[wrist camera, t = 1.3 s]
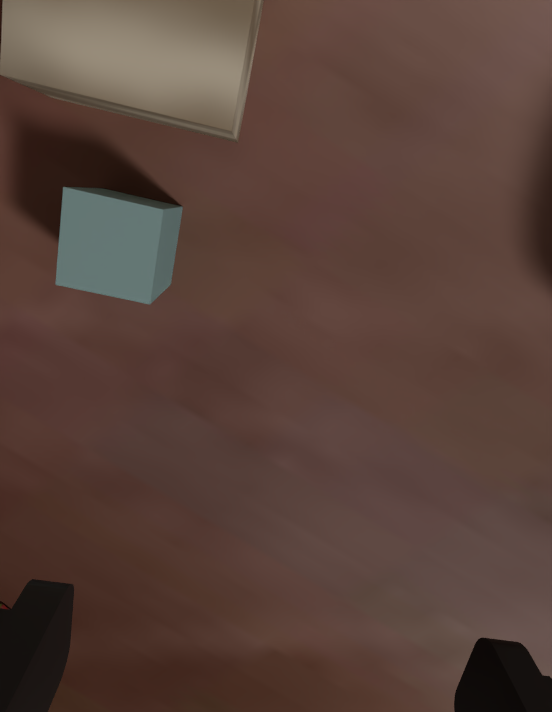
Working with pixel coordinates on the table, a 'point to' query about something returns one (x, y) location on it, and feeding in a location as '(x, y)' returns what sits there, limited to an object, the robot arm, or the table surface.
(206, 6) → the birch block
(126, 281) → the teal block
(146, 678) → the table surface
